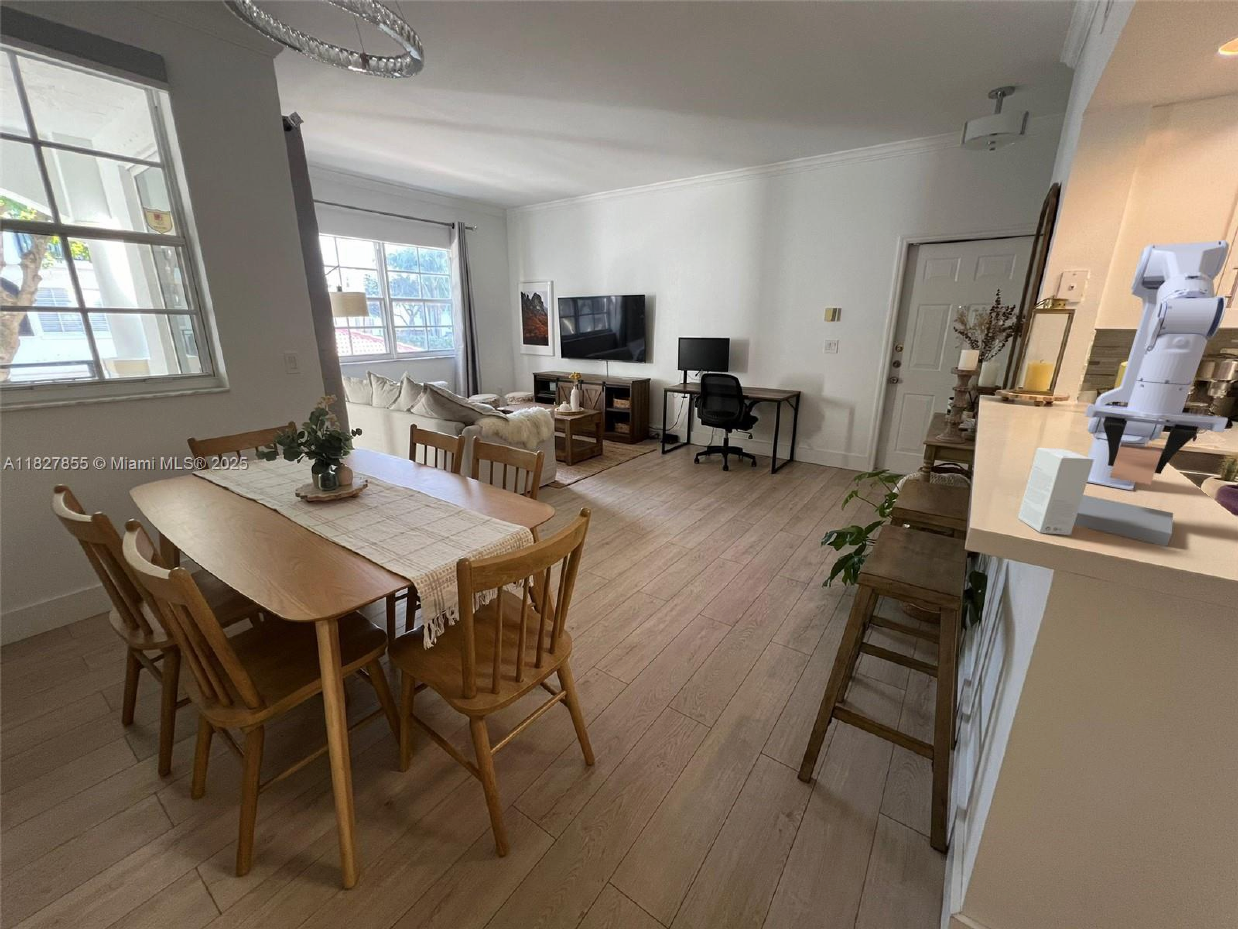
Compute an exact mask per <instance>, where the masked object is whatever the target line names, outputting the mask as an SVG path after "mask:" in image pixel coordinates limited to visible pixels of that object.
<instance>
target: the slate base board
mask: <svg viewBox="0 0 1238 929" xmlns="http://www.w3.org/2000/svg"><path fill="white" fill-rule="evenodd" d="M1173 517H1174V513H1173V512H1170V511H1166V510H1165V511H1164V510H1161V509H1160V510H1159V509H1155V508H1150V507H1145V506H1141V505H1140V506H1139V505H1135V504H1131V503H1125V502H1120V501H1115V500H1111V499H1105V498H1101V497H1100V498H1099V497H1096V496H1090V495H1086V494H1083V497H1082V500H1081V503H1080V506H1079V510H1078V513H1077V516H1076V519H1075V522H1074V525H1075V526H1077V527H1083V528H1086V529H1092V530H1096V531H1101V532H1104V533H1108V534H1112V535H1116V536H1117V535H1118V536H1120V537H1126V538H1130V539H1133V540H1137V541H1143V542H1146V543H1150V544H1155V545H1159V546H1162V547H1168V544H1169V541H1170V539H1171V536H1172V534H1173V532H1172V531H1173V521H1174V520H1173Z"/></svg>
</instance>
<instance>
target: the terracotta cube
mask: <svg viewBox="0 0 1238 929" xmlns="http://www.w3.org/2000/svg"><path fill="white" fill-rule="evenodd" d="M1162 453H1163V448H1162V447H1154V446H1147V445H1145V446H1141V445H1133V444H1126V443H1121V445H1120V447H1119V450H1118V453H1117V456H1116V459H1115V462H1114V465H1113V468H1112V471H1111V475H1110V478H1116V479H1122V480H1127V481H1133V482H1135V483H1139V484H1146V485H1151V484H1152V482H1153V480H1154V479H1153V478H1154V475H1155V474H1156V473H1155V471H1156V468H1157V465H1158V462H1159V459H1160V457H1161V455H1162Z"/></svg>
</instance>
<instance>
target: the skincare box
mask: <svg viewBox="0 0 1238 929" xmlns="http://www.w3.org/2000/svg"><path fill="white" fill-rule="evenodd" d="M1035 451H1036V452H1035V455H1034V458H1033V462H1032V466H1031V470H1030V473H1029V477H1028V480H1027V483H1026V487H1025V491H1024V494H1023V497H1022V502H1021V505H1020V509H1019V512H1018V517H1017V519H1018V520H1020V521H1022V522H1023V523H1025V524H1026V525H1027V526H1029V527H1031V528H1032V529H1034V530H1036V532H1039V533H1040V534H1050V535H1051V534H1052V535H1063V536H1071V535H1072V532H1073V528H1074V522H1075V519H1076V516H1077V513H1078V510H1079V506H1080V503H1081V500H1082V497H1083V495H1084V493H1085V490H1086V486H1087V483H1088V482H1087V481H1088V477H1089V474H1090V471H1091V468H1092V464H1093V461H1094V459H1092V458H1089V457H1088V456H1085V455H1082V454H1080V453H1077V452H1074V451H1071V450H1068V449H1062V448H1049V447H1048V448H1047V447H1037V448H1036V450H1035Z"/></svg>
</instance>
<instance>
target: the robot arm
mask: <svg viewBox="0 0 1238 929" xmlns="http://www.w3.org/2000/svg"><path fill="white" fill-rule="evenodd" d="M1229 248H1230V244H1229V243H1228V242H1227V240H1226V239H1220V240H1218V241H1203V242H1186V243H1184V242H1183V243H1168V244H1167V243H1166V244H1152V243H1151V244H1148V245H1147V246H1145V247H1144V248H1143V249H1142V251H1141V253H1140V255H1139V256H1140V257H1139V259H1138V262H1137V265H1136V268H1135V272H1134V275H1133V276H1134V277H1133V281H1132V284H1131V287H1130V288H1131V295H1132V296H1136V297H1138V298H1141V300H1142V312H1141V317H1140V320H1139V322H1138V325H1137V329H1136V333H1135V336H1134V338H1133V339H1134V340H1133V343H1132V346H1131V349H1130V353H1129V356H1128V359H1127V363H1126V365H1125V366H1126V367H1125V369H1124V372H1123V375H1122V380H1121V382H1120V385H1119V386H1118V387H1116V388H1114V389H1111V390H1108V391H1106V392H1104V393H1101V394H1100V395H1099V396H1098V397H1097V398H1096V400H1095V403H1094V404H1093V403H1090V404H1088V405H1087V407H1086V410H1085V414H1084V417H1085V418H1089V420H1088V422H1087V428H1086V429H1087V430H1086V431H1087V432H1088V433H1089V434H1091V435H1093V439H1092V441H1091V445H1090V447H1089V451H1088V453H1087V454H1088V455H1087V457H1089V458H1092V459H1094V461H1093V464H1092V468H1091V471H1090V474H1089V477H1088V481H1087V483H1090V484H1094V485H1095V484H1096V485H1101V486H1107V487H1112V488H1118V489H1121V490H1128V491H1133V490H1134V488H1135V485H1136V482H1133V481H1127V480H1122V479H1116V478H1110V475H1111V471H1112V468H1113V465H1114V462H1115V459H1116V456H1117V453H1118V450H1119V447H1120V445H1121V443H1126V444H1133V445H1141V446H1146V445H1148V444H1149V443H1150V441H1151V442H1154V441H1155V440H1157V439H1159V438H1160V436H1161V435H1162V432H1163V431H1164V428H1165V426H1167V427H1170V431H1169V433H1168V437H1167V440H1166V442H1165V445H1164V448H1163V449H1162V454H1161V456H1160V459H1159V462H1158V465H1157V468H1156V471H1155V473H1154V474H1159V475H1161V474H1162V472H1163V470H1164V468H1165V467H1166V466H1167V464H1168V463H1169V462H1170V460H1171V459H1172V458H1173V457H1174V456H1175V454H1176V453H1177V452H1179V451H1180V450H1181V449H1182V448H1183V447H1184V446H1185V445H1186V444H1187V443H1188V442H1190V441H1191V440H1192V439H1193V438H1194V437H1195V436H1196V435H1197V433H1198V430H1203V431H1204V430H1205V431H1211V432H1215V433H1216V432H1217V433H1224V431H1225V429H1226V425H1227V424H1228V420H1229V419H1228V417H1225V416H1224V417H1223V416H1222V417H1221V416H1215V415H1214V416H1213V415H1212V416H1211V415H1206V414H1205V415H1204V414H1197V413H1189V412H1183V410H1184V407H1185V404H1186V402H1187V400H1188V396H1189V394H1190V390H1191V388H1192V385H1193V382H1194V379H1195V377H1196V375H1197V371H1198V368H1199V365H1200V362H1201V359H1202V357H1203V355H1204V351H1205V348H1206V346H1207V343H1208V340H1211V339H1213V337H1214V336H1215V334H1216V333H1217V332H1218V330H1219V328H1220V326H1221V323H1222V321H1223V319H1224V316H1225V313H1226V308H1227V307H1226V305H1227V297H1226V296H1224V295H1221V296H1216V295H1215V283H1214V280H1215V279H1216V278H1217V276H1218V275H1219V274H1220V273H1221V271H1222V269H1223V267H1224V264H1225V262H1226V259H1227V256H1228V253H1229ZM1206 338H1207V339H1206ZM1113 402H1114V403H1117V402H1118V403H1125V404H1126V405H1125V404H1113Z"/></svg>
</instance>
